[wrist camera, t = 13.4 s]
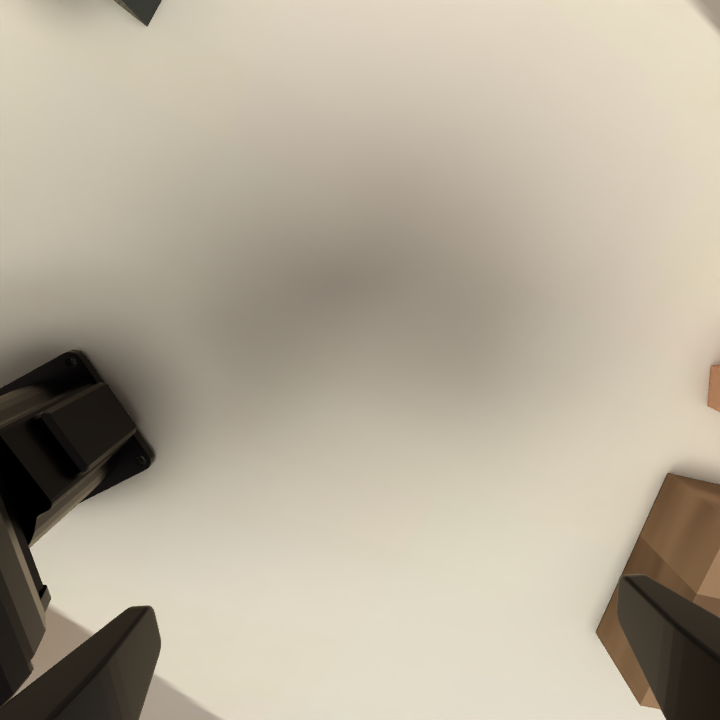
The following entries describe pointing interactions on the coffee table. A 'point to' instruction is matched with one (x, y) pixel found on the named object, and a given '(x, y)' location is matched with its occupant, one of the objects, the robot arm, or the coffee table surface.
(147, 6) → the watch
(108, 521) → the coffee table surface
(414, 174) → the coffee table surface
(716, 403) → the rectangular block
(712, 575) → the slot box
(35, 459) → the robot arm
